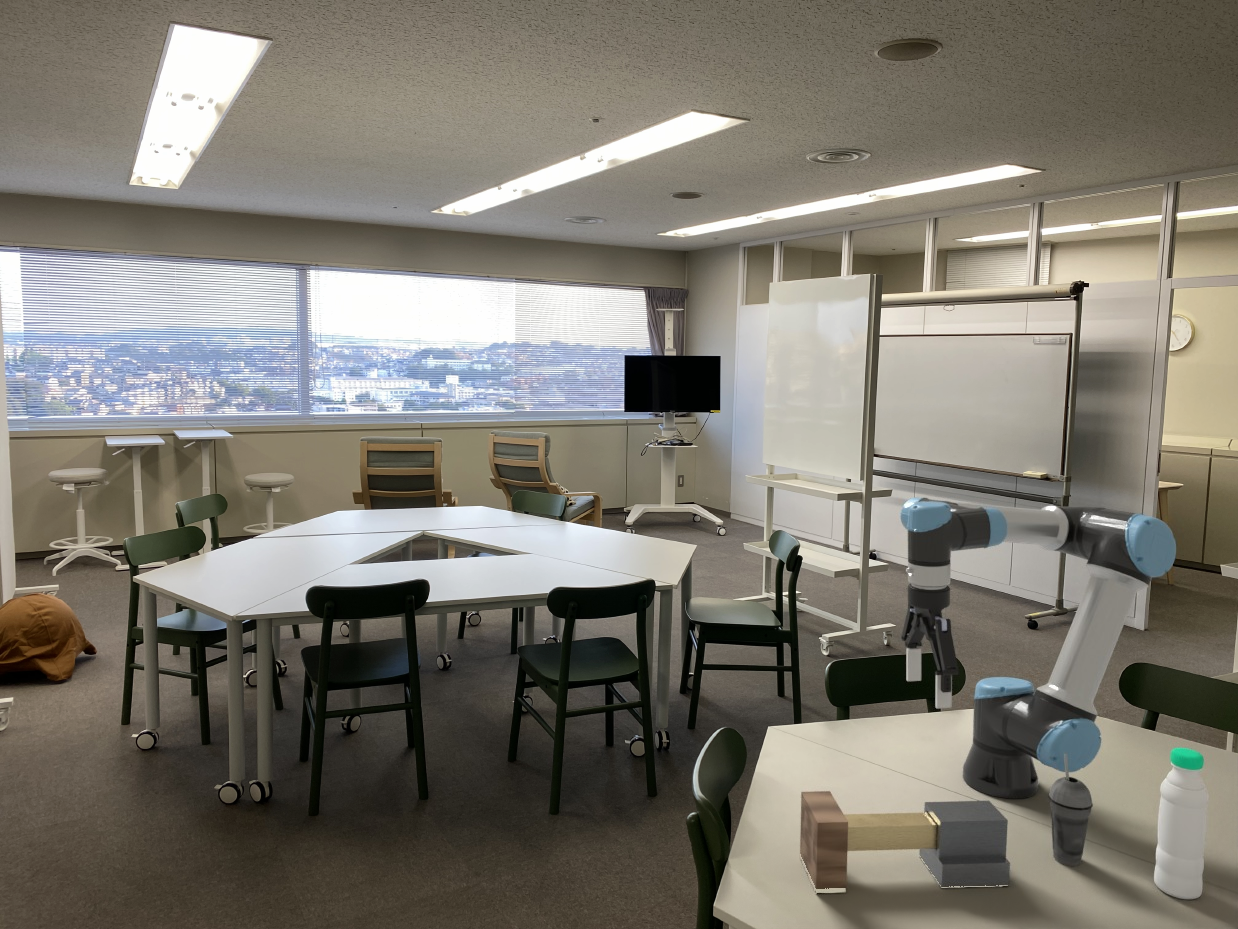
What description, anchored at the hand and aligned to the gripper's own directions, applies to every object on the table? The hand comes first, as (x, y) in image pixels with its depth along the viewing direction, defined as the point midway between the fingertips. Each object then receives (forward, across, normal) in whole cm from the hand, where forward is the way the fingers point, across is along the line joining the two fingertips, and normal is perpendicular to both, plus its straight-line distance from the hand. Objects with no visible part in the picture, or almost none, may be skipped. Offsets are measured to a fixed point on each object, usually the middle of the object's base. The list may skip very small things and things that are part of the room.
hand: (927, 693), depth 165 cm
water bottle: (+30, +20, +36) cm, 51 cm away
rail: (+22, +12, -13) cm, 29 cm away
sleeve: (+29, +12, +1) cm, 31 cm away
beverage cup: (+30, +10, +22) cm, 38 cm away
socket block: (+28, +12, -24) cm, 38 cm away
